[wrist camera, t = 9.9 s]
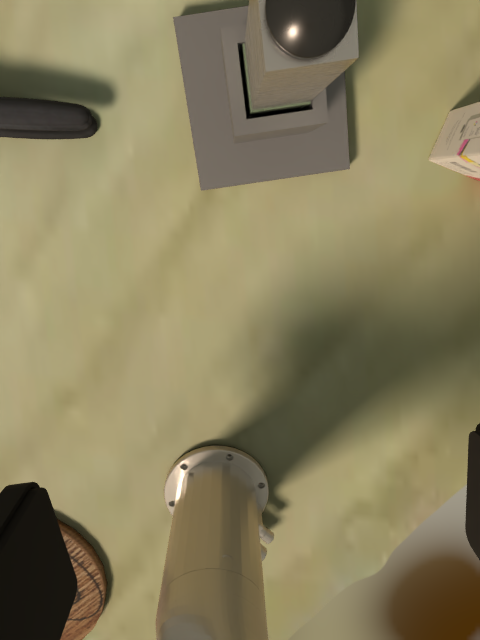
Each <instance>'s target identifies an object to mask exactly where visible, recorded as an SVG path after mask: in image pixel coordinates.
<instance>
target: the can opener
mask: <svg viewBox="0 0 480 640" xmlns="http://www.w3.org/2000/svg"><path fill="white" fill-rule="evenodd" d="M96 131H97V122H96V120H95V119H94V117H93V116H92V114H91V112H90V111H89V110H88V109H87V108H86V107H84V106H82V105H79V104H72V103H66V102H58V101H49V100H40V99H28V98H13V97H0V137H12V138H29V139H76V138H88V137H91V136H93V135H94V134H95V132H96Z"/></svg>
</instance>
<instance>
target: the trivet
mask: <svg viewBox="0 0 480 640" xmlns="http://www.w3.org/2000/svg"><path fill="white" fill-rule="evenodd" d="M57 521H58V524H59V527H60V530H61V533H62V536H63V539H64V542H65V545H66V547H67V550H68V553H69V556H70V559H71V562H72V565H73V568H74V571H75V574H76V577H77V594H76V597H75V600H74V603H73V606H72V608H71V611H70V614H69V617H68V619H67V622H66V625H65V628H64V630H63V633H62V636H61V639H60V640H82V639H83V638H84V637H85V636H86V635H87V634H88V633H89V632H90V631H91V630H92V629H93V628H94V626H95V624H96V622H97V621H98V619H99V617H100V615H101V613H102V610H103V607H104V603H105V598H106V590H107V579H106V575H105V571H104V566H103V563H102V562H101V560H100V558H99V557H98V555H97V553H96V552H95V550H94V548H93V547H92V545H91V544H89V543H88V542H87V541H86V540H85V539H84V538H83V537H82V536H81V535H80V534H79V533H78V532H77V531H76V530H75V529H73V528H72V527H70V526H68V525H67V524H65V523H63V522H61V521H60V520H58V519H57Z"/></svg>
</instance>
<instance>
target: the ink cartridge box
mask: <svg viewBox="0 0 480 640" xmlns="http://www.w3.org/2000/svg"><path fill="white" fill-rule="evenodd" d="M429 160H430V161H431V162H434V163H436V164H439V165H441V166H444V167H446V168H448V169H451V170H453V171H456V172H458V173H461V174H463V175H466V176H468V177H471V178H473V179H476V180H478V181H480V102H477V103H473V104H470V105H467V106H464V107H461V108H458V109H454V110H451V111H450V112H449V114H448V116H447V119H446V121H445V123H444V125H443V128H442V130H441V132H440V134H439V137H438V139H437V141H436V143H435V145H434V148H433V150H432V152H431V154H430V157H429Z"/></svg>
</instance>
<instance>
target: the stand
mask: <svg viewBox="0 0 480 640" xmlns="http://www.w3.org/2000/svg"><path fill="white" fill-rule="evenodd" d="M248 8H249V6H243V7H236V8H230V9H223V10H217V11H211V12H204V13H198V14H191V15H185V16H178V17H173V19H174V25H175V31H176V37H177V44H178V50H179V56H180V62H181V69H182V75H183V81H184V87H185V94H186V100H187V106H188V112H189V119H190V125H191V131H192V137H193V144H194V150H195V156H196V162H197V169H198V175H199V181H200V187H201V190H208V189H215V188H222V187H229V186H236V185H243V184H250V183H256V182H263V181H270V180H277V179H284V178H291V177H298V176H305V175H311V174H318V173H325V172H332V171H339V170H346V169H350V163H349V145H348V126H347V107H346V89H345V71H344V72H342V73H341V74H340V75H339V76H338V77H337V78H336V79H335V80H334V81H332V82H331V83H330V84H329V85H328V86H327V87H326V88H325V89H323V90H322V91H321V92H320V93H319V94H318V95H317V96H316V97H315V98H313V99H312V100H311V104H310V105H308V106H304V107H303V108H302V109H301V110H297V111H290V112H283V113H276V114H270V115H263V116H256V117H249V109H248V100H247V92H246V84H245V75H244V67H243V50H242V44H243V43H245V34H246V25H247V16H248Z"/></svg>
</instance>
